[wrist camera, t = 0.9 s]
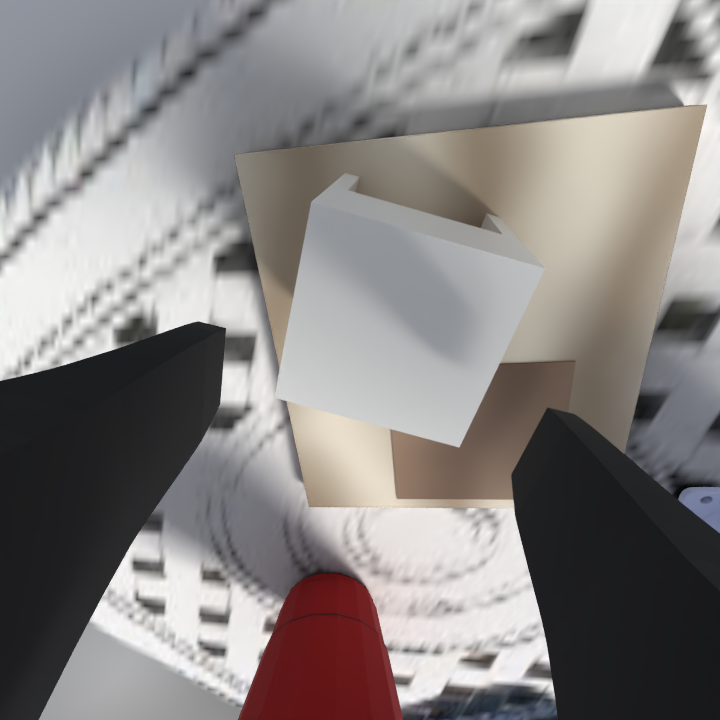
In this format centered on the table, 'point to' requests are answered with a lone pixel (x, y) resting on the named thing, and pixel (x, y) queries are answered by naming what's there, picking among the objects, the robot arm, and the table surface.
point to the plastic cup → (325, 658)
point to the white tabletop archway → (401, 313)
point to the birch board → (546, 308)
